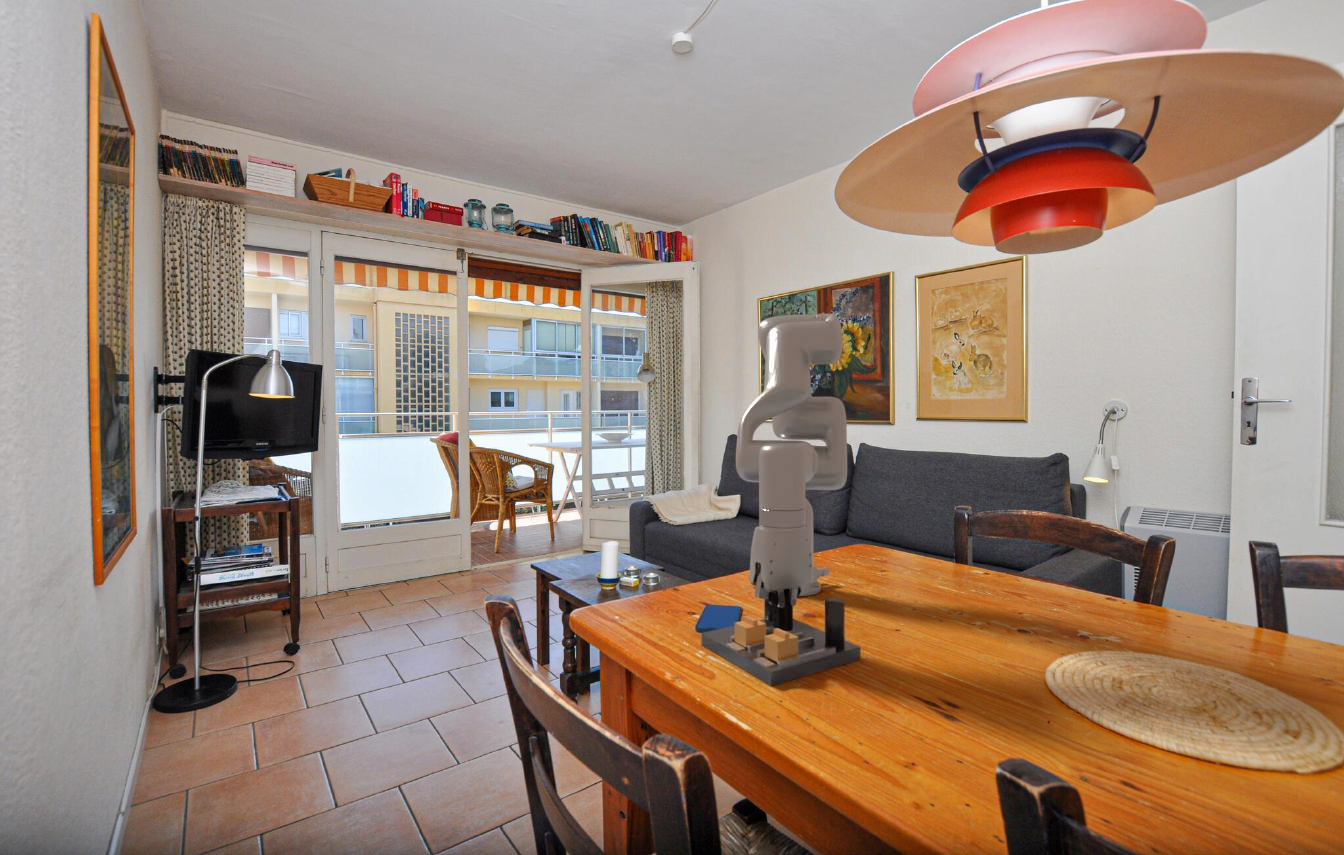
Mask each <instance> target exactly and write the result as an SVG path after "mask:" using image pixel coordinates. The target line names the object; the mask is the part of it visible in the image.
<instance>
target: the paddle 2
mask: <svg viewBox="0 0 1344 855" xmlns="http://www.w3.org/2000/svg"><path fill="white" fill-rule="evenodd" d="M797 655H798V637H797V636H795V635H793V634H791V633H789V632H786V631H783V630H781V629H779V628H776V629H774V634H770V635H766V636H765V656H766V657H768V658H770V659H772V660H774V661H776V662H777V661H779V660H783V659H786V658H790V657H794V656H797Z"/></svg>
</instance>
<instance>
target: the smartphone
mask: <svg viewBox="0 0 1344 855" xmlns="http://www.w3.org/2000/svg"><path fill="white" fill-rule="evenodd" d="M742 610H743V608H742V606H738V605H725V604H724V605H723V604H706V605H705V606H704V609H703V610H702V612H701V615H700V616H699V619H698V620H697V622H696V624H695V627H694V628H695V629H694V630H695V632H698V633H705V632H709V631H713V630H718V629H722V628H727V627H731V626H735V623H736V622H740V618H741V614H742Z"/></svg>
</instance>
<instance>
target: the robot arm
mask: <svg viewBox="0 0 1344 855" xmlns="http://www.w3.org/2000/svg"><path fill="white" fill-rule="evenodd" d="M757 334H758V341H759V346H760V347H759V348H760V350H761V352H762V355H763V358H764V379H763V380H764V382H763V391H762V392H761V393H760V394H759V395H758V396H756V397H755V399H753V400H752V402H750V404H749V405H748V406H747V408H746V409H745V411H744V413H743V414H742V416H741V418H740V421H739V424H738V427H737V428H738V429H737V437H736V438H737V439H736V446H735V447H736V449H735V469H736V472H737V475H738V476H739V477H740V478H741V479H742V480H743V481H745V482H749V483H758V506H759V507H758V511H759V512H758V513H759V514H758V521H759V524H758V525H759V526H756V527H755V528H754V531H753V535H752V541H751V547H750V548H751V550H750V559H749V561H750V563H749V582H750V584H751V585H753V586H755V588H754V596H755V597H756V598H759V599H762V600H764V599H767V600H768V601H769V603H770V604H772V606H773V627H774V628H779V629H781V630H783V631H786V632H787V631H792V630H793V619H794V614H793V613H794V612H793V611H794V606H796V604H797V599H798V598H799V597H807V596H812V595H813V596H814V595H816V594H818V593H819V592H821V590H822V584H821V583H820V582H819V581H818V579H819V578H820V577H821V578H822V577H827V576H828V575H830V570H829V568H828V567H827V566H824V567H819V568H818V567H817V566H814V564H815V561H814V510H813V506H812V505H811V503H810V502H809V500H808V499H807V497H806V491H807V490H808V491H809V490H811V491H813V490H815V491H836V490H840V489H842V488H843V487H844V486H845V485H846V482H847V478H848V439H847V438H848V436H847V435H848V432H847V431H848V429H847V414H846V413H847V412H846V408H845V405H844V402H843V401H842V400H841V399H840V398H837V397H835V396H812V391H811V389H812V388H811V384H812V383H811V381H812V380H811V373H810V365H814V366H815V365H833V364H836V363H838V362H839V360H840V359H841V356H842V354H843V353H842V352H843V348H844V347H843V345H844V343H843V342H844V340H843V331H842V324H841V321H840V318H839V317H838V316H837V315H836V314H835V313H812V314H787V315H777V316H772V317H771V316H770V317H768V318H765V319H763V320H762V321H761V322H760V324H759V325H758V330H757ZM770 419H771V424H772V431H773V434H774V435H775V436H776V437H777V438H779V439H777V440H773V439H771V440H770V439H759V440H758V439H755V440H754V435H755V432H756V431H757V429H758V428H759V427H760V426H761V425H762V424H764V423H766V422H767V421H768V420H770ZM781 439H782V440H781ZM807 441H821V442H824V444H825V446H824V445H818V446H816V445H815V446H814V445H812V444H811V443H809V442H807Z"/></svg>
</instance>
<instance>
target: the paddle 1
mask: <svg viewBox="0 0 1344 855" xmlns="http://www.w3.org/2000/svg"><path fill="white" fill-rule="evenodd" d="M742 618H743V619H742V620H741V621H740V620H739V622H736V623H735V642H737V643H739V644H741V645H742V646H744V647H747V645H751V644H755V643H759V642H763V641H765V636H766V623H764V622H761V621H759V620H760V619H757V618H755V617H751V616H749V615H743V617H742Z"/></svg>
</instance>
